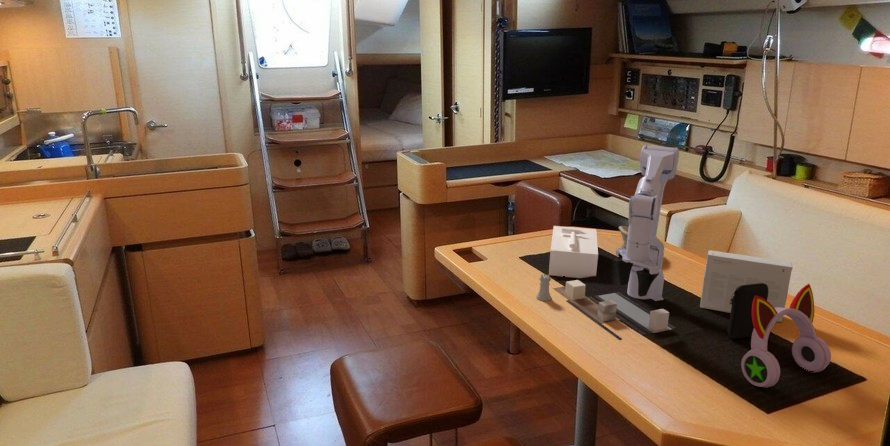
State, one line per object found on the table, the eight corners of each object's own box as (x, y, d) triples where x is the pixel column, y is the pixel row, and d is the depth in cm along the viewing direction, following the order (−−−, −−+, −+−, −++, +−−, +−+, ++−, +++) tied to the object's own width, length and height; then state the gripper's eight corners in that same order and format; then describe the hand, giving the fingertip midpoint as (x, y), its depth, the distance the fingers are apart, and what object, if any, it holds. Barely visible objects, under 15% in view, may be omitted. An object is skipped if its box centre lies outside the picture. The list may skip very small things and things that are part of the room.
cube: (576, 292, 184) (577, 279, 183) (584, 298, 181) (585, 285, 179) (564, 294, 183) (565, 281, 181) (572, 300, 179) (573, 286, 178)
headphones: (768, 396, 137) (785, 312, 131) (731, 373, 146) (746, 293, 139) (829, 377, 145) (847, 297, 139) (790, 357, 154) (807, 280, 147)
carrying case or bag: (728, 342, 160) (737, 288, 155) (719, 337, 162) (729, 284, 158) (763, 337, 163) (773, 284, 158) (754, 332, 165) (764, 280, 161)
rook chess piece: (551, 305, 178) (553, 279, 176) (534, 304, 179) (536, 278, 176) (551, 299, 182) (553, 273, 180) (536, 297, 183) (537, 272, 181)
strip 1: (569, 288, 189) (571, 271, 188) (619, 323, 168) (622, 304, 166) (552, 291, 187) (553, 274, 185) (600, 326, 166) (602, 307, 164)
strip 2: (614, 296, 185) (616, 278, 183) (671, 332, 164) (674, 313, 162) (597, 299, 183) (599, 281, 181) (653, 336, 162) (655, 316, 160)
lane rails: (617, 296, 185) (618, 291, 185) (675, 332, 164) (675, 327, 164) (565, 304, 179) (566, 300, 178) (618, 344, 158) (619, 339, 157)
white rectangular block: (593, 252, 220) (596, 222, 217) (595, 280, 197) (598, 247, 194) (551, 249, 223) (554, 219, 220) (548, 275, 200) (551, 243, 196)
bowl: (664, 263, 211) (668, 235, 208) (621, 262, 211) (625, 234, 208) (650, 248, 225) (654, 221, 222) (611, 247, 225) (614, 220, 222)
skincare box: (781, 315, 176) (792, 261, 171) (782, 323, 171) (793, 268, 166) (700, 300, 184) (708, 248, 179) (699, 307, 179) (707, 254, 174)
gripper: (608, 233, 167) (603, 281, 171) (644, 252, 154) (638, 303, 159) (630, 231, 170) (625, 278, 174) (667, 248, 157) (661, 299, 161)
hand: (632, 289), depth 166 cm, fingers open, 7 cm apart
